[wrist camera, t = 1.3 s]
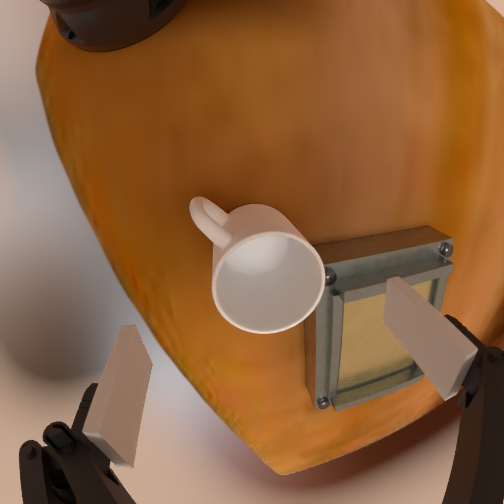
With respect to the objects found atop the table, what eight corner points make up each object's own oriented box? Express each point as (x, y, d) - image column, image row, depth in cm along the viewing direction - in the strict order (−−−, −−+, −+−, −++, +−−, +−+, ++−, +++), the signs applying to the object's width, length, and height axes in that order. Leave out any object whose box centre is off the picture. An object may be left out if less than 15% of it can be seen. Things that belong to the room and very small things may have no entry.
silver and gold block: (300, 247, 30) (323, 278, 23) (428, 225, 31) (466, 245, 24) (305, 384, 38) (319, 422, 31) (407, 353, 39) (429, 382, 33)
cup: (254, 291, 32) (269, 350, 22) (169, 221, 28) (146, 259, 18) (307, 239, 30) (346, 281, 21) (225, 159, 26) (229, 165, 17)
